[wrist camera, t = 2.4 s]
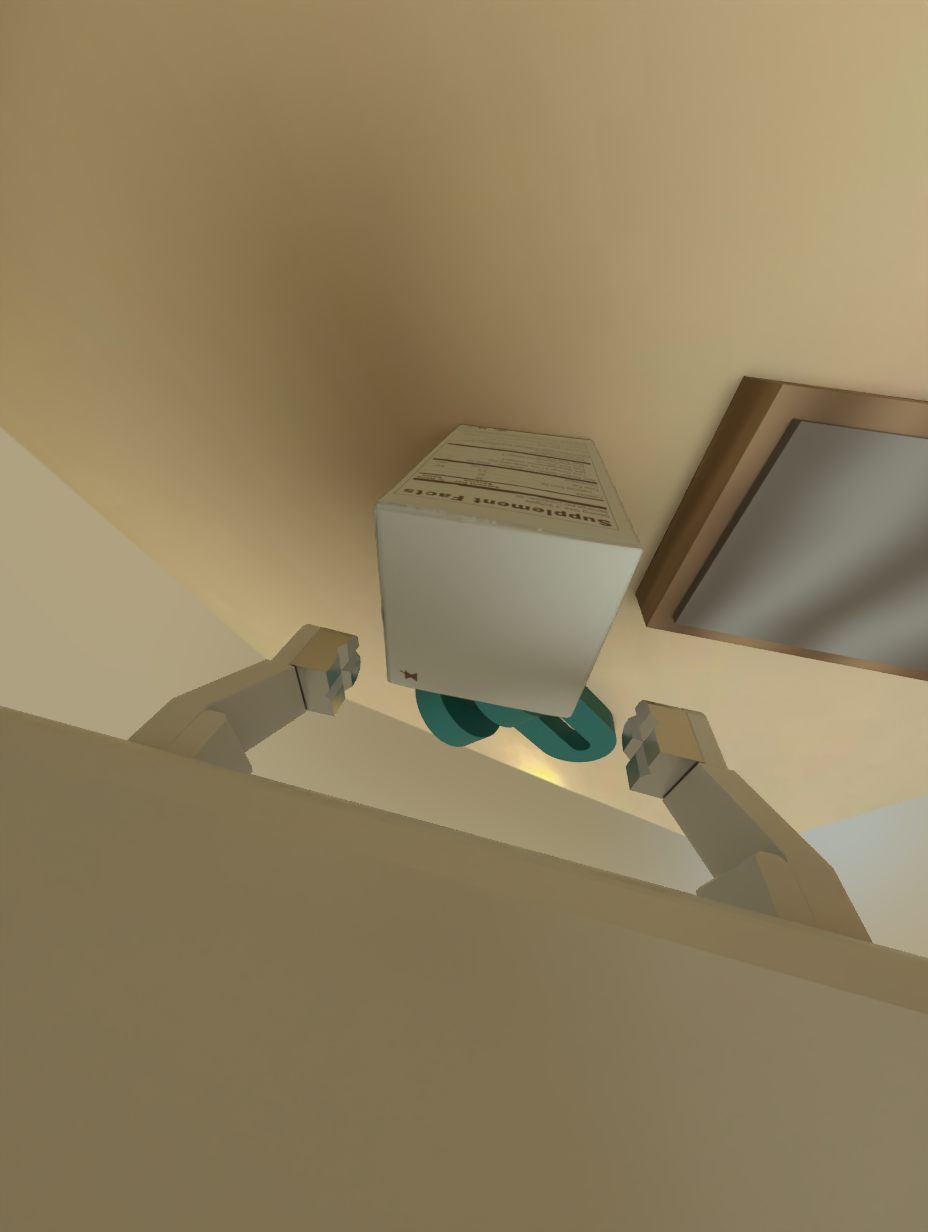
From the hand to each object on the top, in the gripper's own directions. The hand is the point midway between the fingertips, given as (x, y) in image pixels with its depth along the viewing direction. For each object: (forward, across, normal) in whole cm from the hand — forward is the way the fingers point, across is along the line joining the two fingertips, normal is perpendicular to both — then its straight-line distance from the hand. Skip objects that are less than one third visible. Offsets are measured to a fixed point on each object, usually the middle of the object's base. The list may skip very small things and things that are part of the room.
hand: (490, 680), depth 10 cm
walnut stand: (+14, -16, -2) cm, 22 cm away
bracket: (+15, -4, +15) cm, 21 cm away
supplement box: (+14, +1, -1) cm, 14 cm away
